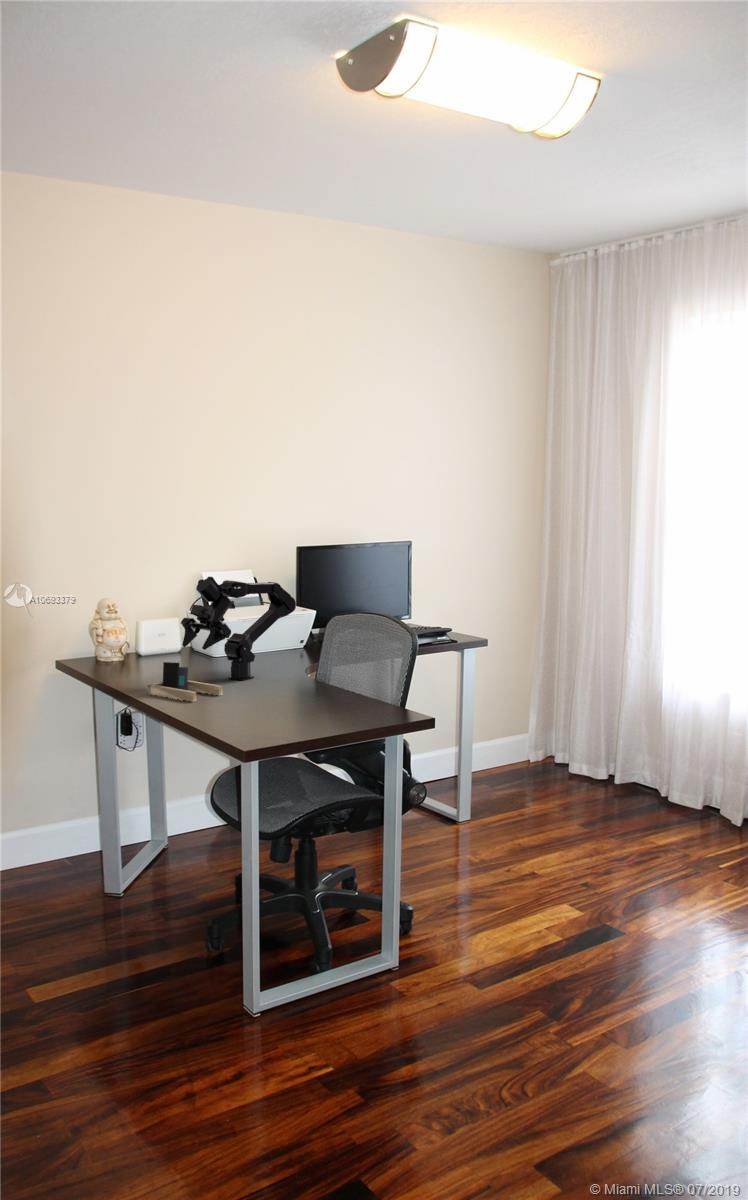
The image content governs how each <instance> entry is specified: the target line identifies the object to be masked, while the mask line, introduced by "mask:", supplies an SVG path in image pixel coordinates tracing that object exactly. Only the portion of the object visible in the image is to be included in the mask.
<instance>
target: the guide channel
mask: <svg viewBox="0 0 748 1200" xmlns="http://www.w3.org/2000/svg"><path fill="white" fill-rule="evenodd" d="M146 688H147V695H150V694H152V695H151V696H155V695H157V697H161V696H162V698H166V697H168V698H167V699H172V698H173V699H174V700H177V699H179V701H183V700H186V701H185V702H188V701H191V702H190V703H195V702H194V701H196V702H197V693H199V692H201V693H200V694H205V693H208V694H207V695H211V694H213V696H216V695H218V696H217V697H221V696H223V688H224V687H223V685H219V684H212V683H206V682H201V681H200V682H199V681H195V680H189V679H188V684H187V690H182V689H176V688H170V687H165V686H163V681H160V682H156V683H155V682H154V683H150V684H147V687H146ZM188 690H191V691H188ZM193 691H196V692H193ZM220 695H221V696H220ZM173 699H172V700H173Z"/></svg>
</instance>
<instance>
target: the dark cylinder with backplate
mask: <svg viewBox="0 0 748 1200" xmlns="http://www.w3.org/2000/svg"><path fill="white" fill-rule="evenodd" d="M162 663H163V664H162V665H163V666H162V682H163V686H165V687H170V688H176V689H182V690H187V684H188V680H189V667H188V666H180V662H170V661H169V662H168V661H167V662H165V661H164V662H162Z"/></svg>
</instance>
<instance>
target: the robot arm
mask: <svg viewBox="0 0 748 1200" xmlns="http://www.w3.org/2000/svg"><path fill="white" fill-rule="evenodd" d="M196 591H197V592H198V593H199V595H201V597H202V598H203V599H204V600H205V601H206V602H207V603H210V604H205V605H200V604H192V606H191V609H190V611H189V612H190V613H189V614H190V615H193V616H195V617H196V619H197V621H196V620H195V618H194V617H183V618H182V620H181V622H180V624H181V625H182V627H183V628H184V636H183V640H182V644H181V645H182V647H183V648H185V647H187V646H188V645H189V644H190V643H191V642H193V640H194V639H195V638H196V637H197V636H198V634H199V633H200V631H201V630H203V631H204V630H205V631H209V634H208V636H207V637H206V639H205V641H204V643H203V645H202V647H201V649H203V651H205V650H207V649H209V648H210V647H213V645H215V644H218V643H219V642H220V641H224V640H226V642H225V644H224V646H223V647H224V653H225V656H226V658H227V661H231V663H230V664H231V665H230V676H228V677H227V678H228V680H236V681H241V680H242V681H246V680H250V678H251V679H254V678H255V676H253V675H251V663H252V662H255V658H256V655H255V654H254V652H252V649H253V645H254V643H255V642H256V641H257V640H258V639H259V638H260V637H261V636H262V635H263V634H264V633H265V632H266V631H268V629H270V627H272V625H274V624H275V623H276V622H277V621H278V620H279V619H282V618H284V617H287V616H289V615H290V614H292V613H294V612H295V610H296V608H297V602H296V600H295V598H294V597H292V596H291V594H290V593H289V592H287V590H285V589H284V588H283V587H282V586H281V585H280V584H279V582H274V581H268V582H243V581H239V580H238V581H237V580H236V581H235V580H229V579H226V580H223V581H222V582H221V584H218V582H216V580H215V578H214V577H213V576H207V577H206V579H205V578H204V579H203V580H202V581H199V582H198V584H197V585H196ZM260 594H262V595H263V594H267V598H268V601H269V605H268V609H267V610H266V612H264V614H262V615H261V616H260V617H259V618H258V619H257V620H256V621H255V622H254V623H252V624H251V625H250V626H249V627H248V628H247V629H246V630H245V631H244V632H243V633H237V632H234V633H233V634H232V629H231V628H230V627H229V625H227V623H226V622H225V617H224V616H225V614H226V613H227V611H228V610H235V609H236V605H235V601H234V600H231V599H230V598H232V599H233V598H234V599H239V598H243V597H247V595H260ZM198 621H199V622H198ZM231 634H232V635H231Z"/></svg>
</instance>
